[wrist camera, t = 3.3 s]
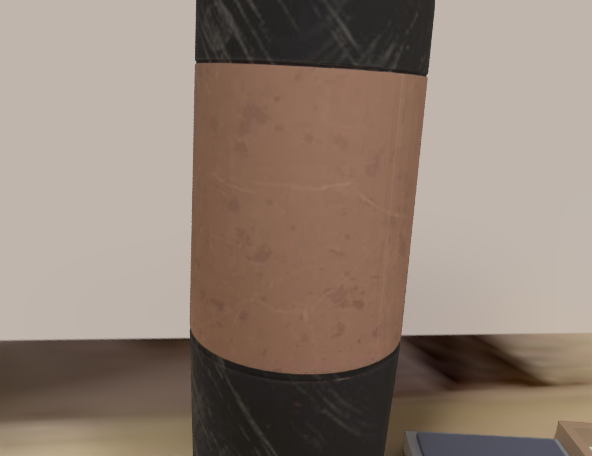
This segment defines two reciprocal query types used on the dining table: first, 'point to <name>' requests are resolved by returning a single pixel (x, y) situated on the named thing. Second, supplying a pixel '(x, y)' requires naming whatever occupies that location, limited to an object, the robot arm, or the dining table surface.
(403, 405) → the dining table surface
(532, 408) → the dining table surface
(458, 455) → the ink pad
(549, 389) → the dining table surface
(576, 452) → the box
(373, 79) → the travel mug
